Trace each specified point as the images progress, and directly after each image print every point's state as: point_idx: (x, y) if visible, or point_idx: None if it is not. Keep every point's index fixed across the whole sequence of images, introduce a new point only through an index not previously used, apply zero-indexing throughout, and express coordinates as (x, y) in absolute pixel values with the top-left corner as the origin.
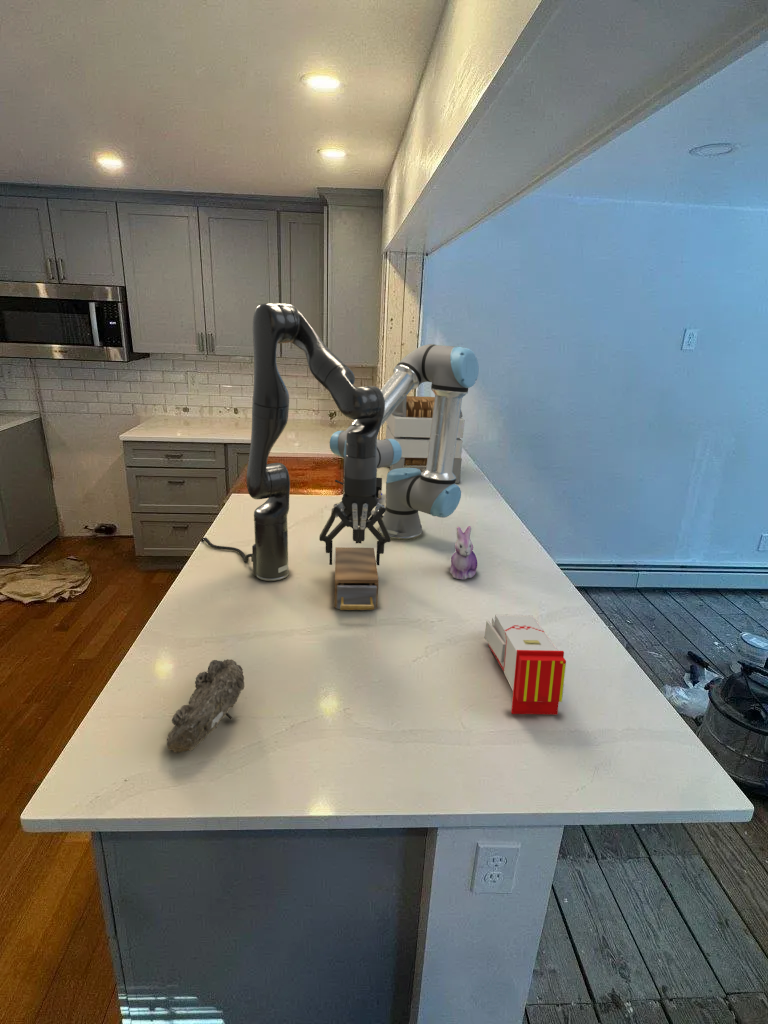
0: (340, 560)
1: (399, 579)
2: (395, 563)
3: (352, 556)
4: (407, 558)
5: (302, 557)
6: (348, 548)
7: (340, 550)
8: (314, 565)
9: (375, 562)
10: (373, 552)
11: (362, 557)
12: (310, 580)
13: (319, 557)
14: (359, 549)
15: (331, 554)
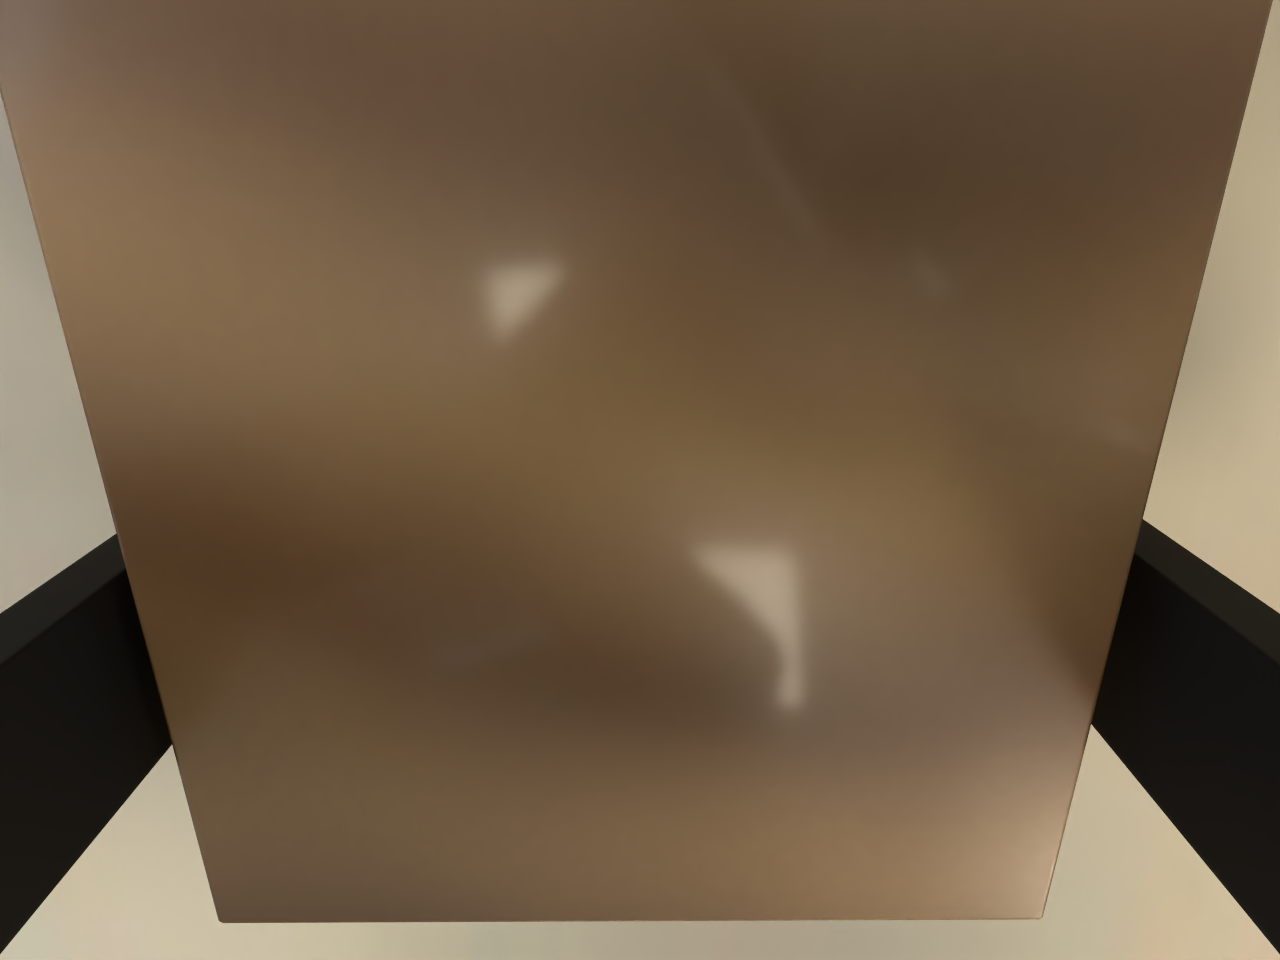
0: (1072, 217)
1: (20, 447)
2: (143, 839)
3: (704, 491)
4: (25, 943)
5: (1191, 939)
6: (771, 879)
7: (963, 789)
8: (1094, 779)
9: (12, 89)
10: (188, 714)
11: (436, 432)
12: (1227, 404)
13: (1005, 943)
14: (528, 844)
15: (1213, 604)
